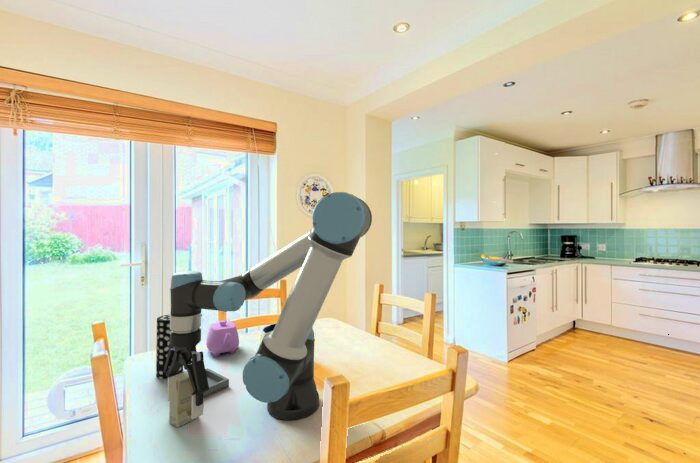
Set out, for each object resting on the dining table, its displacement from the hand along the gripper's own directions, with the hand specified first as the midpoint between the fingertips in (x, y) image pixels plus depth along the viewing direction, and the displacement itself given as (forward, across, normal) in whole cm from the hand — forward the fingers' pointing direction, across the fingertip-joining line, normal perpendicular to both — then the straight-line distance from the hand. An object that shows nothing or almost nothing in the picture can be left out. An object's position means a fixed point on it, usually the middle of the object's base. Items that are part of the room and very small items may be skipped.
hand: (184, 407), depth 87 cm
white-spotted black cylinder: (+4, +31, -10) cm, 33 cm away
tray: (+3, +13, -11) cm, 17 cm away
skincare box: (+3, 0, 0) cm, 3 cm away
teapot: (+4, +35, -33) cm, 48 cm away
